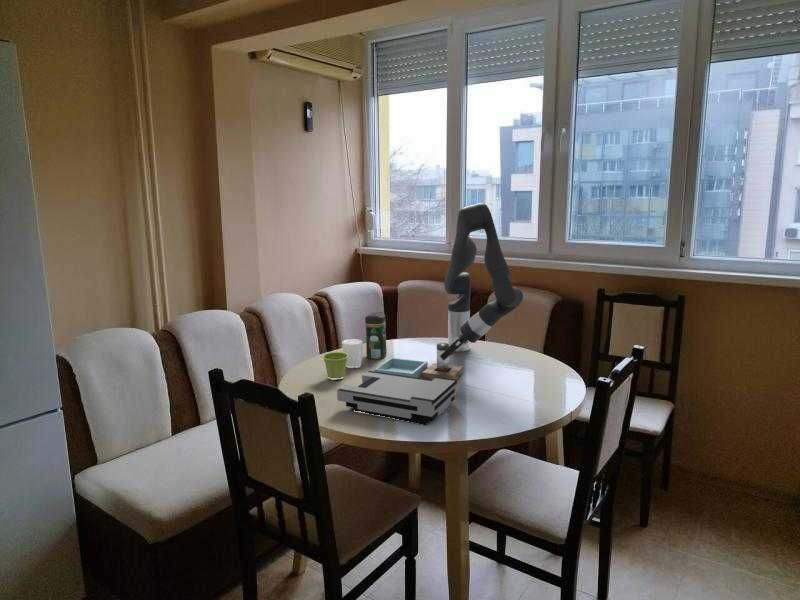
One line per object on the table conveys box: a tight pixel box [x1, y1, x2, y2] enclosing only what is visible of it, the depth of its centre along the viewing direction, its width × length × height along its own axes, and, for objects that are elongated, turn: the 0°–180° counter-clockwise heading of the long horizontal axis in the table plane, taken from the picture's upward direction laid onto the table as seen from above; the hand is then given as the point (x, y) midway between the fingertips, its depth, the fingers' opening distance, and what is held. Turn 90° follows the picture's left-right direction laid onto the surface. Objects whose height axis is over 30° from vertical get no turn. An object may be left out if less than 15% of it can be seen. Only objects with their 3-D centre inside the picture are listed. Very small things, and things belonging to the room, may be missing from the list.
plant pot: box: [322, 351, 348, 378], centre depth 202 cm, size 9×9×9 cm
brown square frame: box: [421, 362, 464, 380], centre depth 203 cm, size 12×12×2 cm
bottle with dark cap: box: [436, 342, 450, 372], centre depth 202 cm, size 5×5×12 cm
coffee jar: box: [364, 311, 388, 359], centre depth 227 cm, size 10×8×19 cm
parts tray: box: [373, 357, 429, 378], centre depth 204 cm, size 15×15×4 cm
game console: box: [336, 370, 458, 426], centre depth 174 cm, size 21×32×8 cm, turn 64°
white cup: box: [341, 338, 363, 366], centre depth 216 cm, size 8×8×10 cm
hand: (445, 354), depth 201 cm, fingers open, 8 cm apart
